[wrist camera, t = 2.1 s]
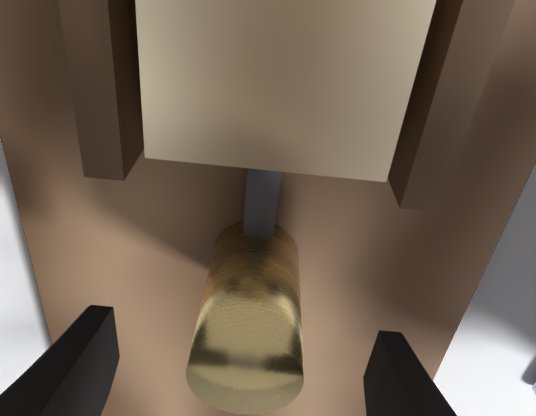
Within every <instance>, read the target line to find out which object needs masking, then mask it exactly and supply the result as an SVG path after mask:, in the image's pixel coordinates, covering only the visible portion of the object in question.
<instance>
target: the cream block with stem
mask: <svg viewBox="0 0 536 416" xmlns="http://www.w3.org/2000/svg"><path fill="white" fill-rule="evenodd" d="M435 3H436V0H135V5H136V22H137V38H138V55H139V71H140V88H141V104H142V121H143V137H144V154H145V158H150V159H160V160H170V161H180V162H190V163H200V164H210V165H220V166H230V167H240V168H248V172H247V185H246V197H245V210H244V221H242V222H238V223H235V224H233V225H231V226H229V227H228V228H226V229H225V230H224V231H222V232H221V233H220V235H219V236H218V237H217V239H216V241H215V243H214V246H213V251H212V255H211V260H210V264H209V269H208V273H207V278H206V282H205V287H204V291H203V296H202V300H201V305H200V309H199V314H198V318H197V323H196V327H195V332H194V336H193V341H192V345H191V350H190V354H189V359H188V363H187V368H186V380H187V383H188V386H189V388H190V389H191V391H192V392H193V393H194V394H195V395H196V396H197V397H198V398H199V399H200V400H202V401H203V402H205V403H206V404H208V405H210V406H212V407H214V408H217V409H219V410H222V411H226V412H230V413H236V414H262V413H268V412H272V411H275V410H278V409H280V408H282V407H284V406H286V405H288V404H289V403H291V402H292V401H293V400H294V399H295V398H296V397H297V396H298V395H299V394H300V392H301V390H302V387H303V383H304V371H303V346H302V322H301V297H300V272H299V251H298V247H297V244H296V242H295V241H294V239H293V237H292V236H291V235H290V234H289V233H288V232H287V231H286V230H284V229H283V228H281V227H280V226H278V225H276V224H275V219H276V212H277V204H278V196H279V188H280V180H281V172H290V173H300V174H310V175H319V176H329V177H339V178H349V179H359V180H369V181H379V182H386V181H387V177H388V174H389V170H390V167H391V163H392V159H393V156H394V152H395V148H396V145H397V141H398V138H399V134H400V130H401V127H402V123H403V119H404V116H405V112H406V109H407V105H408V101H409V98H410V94H411V90H412V87H413V83H414V79H415V76H416V72H417V69H418V65H419V61H420V58H421V54H422V50H423V47H424V43H425V40H426V36H427V32H428V29H429V25H430V21H431V18H432V14H433V11H434V7H435Z"/></svg>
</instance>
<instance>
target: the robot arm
mask: <svg viewBox="0 0 536 416" xmlns="http://www.w3.org/2000/svg"><path fill="white" fill-rule="evenodd" d="M119 358H120V354H119V347H118V339H117V331H116V323H115V316H114V308H113V307H110V306H99V305H90V306H88V307H87V308H86V309H85V310H84V311H83V312H82V313H81V314H80V316H79V317H78V318H77V319H76V320H75V321H74V322H73V323H72V324H71V325H70V326H69V328H68V329H67V330H66V331H65V332H64V333H63V334H62V335H61V336H60V337H59V338H58V339H57V340H56V341H55V342H54V343H53V344H52V345H51V347H50V348H49V349H48V350H47V351H46V352H45V353H44V354H43V355H42V356H41V357H40V358H39V359H38V360H37V361H36V362H35V363H34V364H33V365H32V366H31V367H30V368H29V369H28V370H27V371H25V372H24V373H23V374H22V375H21V376H20V377H19V378H18V379H17V380H16V381H15V382H14V383H13V384H12V385H10V386H9V387H8V388H7V389H6V390H5V391H4V392H3V393H2V394H1V395H0V416H101V414H102V411H103V409H104V406H105V404H106V401H107V399H108V396H109V393H110V390H111V387H112V383H113V380H114V377H115V373H116V369H117V366H118V362H119ZM363 383H364V395H365V406H366V415H367V416H457V415H456V414H455V412H454V411H453V409H452V408H451V407H450V405H449V404H448V402H447V401H446V399H445V398H444V397H443V395H442V394H441V392H440V391H439V389H438V388H437V386H436V385H435V383H434V382H433V381H432V379H431V377H430V376H429V374H428V373H427V371H426V370H425V368H424V367H423V365H422V364H421V362H420V360H419V359H418V357H417V356H416V354H415V353H414V351H413V349H412V348H411V346H410V345H409V343H408V341H407V340H406V338H405V337H404V335H403V334H402V333H401V332H394V331H383V330H379V332H378V335H377V338H376V341H375V343H374V346H373V349H372V352H371V355H370V358H369V361H368V364H367V367H366V370H365V373H364V376H363ZM532 389H533V391H534V393H535V395H536V382H535V384H534V385H533V388H532Z"/></svg>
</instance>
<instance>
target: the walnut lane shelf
mask: <svg viewBox="0 0 536 416" xmlns="http://www.w3.org/2000/svg"><path fill="white" fill-rule="evenodd" d="M0 137H1V141H2V145H3V149H4V153H5V157H6V161H7V165H8V170H9V174H10V178H11V182H12V186H13V190H14V194H15V198H16V202H17V206H18V210H19V214H20V218H21V222H22V226H23V230H24V234H25V238H26V242H27V246H28V250H29V254H30V258H31V262H32V266H33V270H34V274H35V278H36V282H37V286H38V290H39V294H40V298H41V302H42V306H43V310H44V314H45V318H46V322H47V326H48V330H49V334H50V338H51V342H52V344H53V343H54V342H55V341H56V340H57V339H58V338H59V337H60V336H61V335H62V334H63V333H64V332H65V331H66V330H67V329H68V328H69V326H70V325H71V324H72V323H73V322H74V321H75V320H76V319H77V318H78V317H79V316H80V314H81V313H82V312H83V311H84V310H85V309H86V308H87V307H88V306H90V305H99V306H110V307H113V308H114V316H115V323H116V331H117V339H118V347H119V354H120V358H119V362H118V366H117V369H116V373H115V377H114V380H113V383H112V387H111V390H110V393H109V396H108V399H107V401H106V404H105V406H104V409H103V411H102V414H101V416H367V415H366V406H365V395H364V383H363V376H364V373H365V370H366V367H367V364H368V361H369V358H370V355H371V352H372V349H373V346H374V343H375V341H376V338H377V335H378V332H379V330H383V331H394V332H401V333H402V334H403V335H404V337H405V338H406V340H407V341H408V343H409V345H410V346H411V348H412V349H413V351H414V353H415V354H416V356H417V357H418V359H419V360H420V362H421V364H422V365H423V367H424V368H425V370H426V371H427V373H428V374H429V376H430V377H431V379H432V381H433V379H434V377H435V374H436V372H437V370H438V368H439V366H440V364H441V362H442V360H443V357H444V355H445V353H446V351H447V349H448V347H449V345H450V343H451V340H452V338H453V336H454V334H455V332H456V330H457V328H458V326H459V324H460V321H461V319H462V317H463V315H464V313H465V311H466V309H467V307H468V304H469V302H470V300H471V298H472V296H473V294H474V292H475V290H476V288H477V285H478V283H479V281H480V279H481V277H482V275H483V273H484V271H485V268H486V266H487V264H488V262H489V260H490V258H491V256H492V254H493V251H494V249H495V247H496V245H497V243H498V241H499V239H500V237H501V235H502V232H503V230H504V228H505V226H506V224H507V222H508V220H509V218H510V215H511V213H512V211H513V209H514V207H515V205H516V203H517V201H518V198H519V196H520V194H521V192H522V190H523V188H524V186H525V184H526V182H527V179H528V177H529V175H530V173H531V171H532V169H533V167H534V165H535V162H536V0H436V3H435V7H434V11H433V14H432V18H431V21H430V25H429V29H428V32H427V36H426V40H425V43H424V47H423V50H422V54H421V58H420V61H419V65H418V69H417V72H416V76H415V79H414V83H413V87H412V90H411V94H410V98H409V101H408V105H407V109H406V112H405V116H404V119H403V123H402V127H401V130H400V134H399V138H398V141H397V145H396V148H395V152H394V156H393V159H392V163H391V167H390V170H389V174H388V177H387V181H386V182H379V181H369V180H359V179H349V178H339V177H329V176H319V175H310V174H300V173H290V172H281V180H280V188H279V196H278V204H277V212H276V219H275V224H276V225H278V226H280V227H281V228H283V229H284V230H286V231H287V232H288V233H289V234H290V235H291V236H292V237H293V239H294V241H295V242H296V244H297V247H298V251H299V272H300V297H301V322H302V346H303V371H304V383H303V387H302V390H301V392H300V394H299V395H298V396H297V397H296V398H295V399H294V400H293V401H292V402H291V403H289V404H288V405H286V406H284V407H282V408H280V409H278V410H275V411H272V412H268V413H262V414H236V413H230V412H226V411H222V410H219V409H217V408H214V407H212V406H210V405H208V404H206V403H205V402H203V401H202V400H200V399H199V398H198V397H197V396H196V395H195V394H194V393H193V392H192V391H191V389H190V388H189V386H188V383H187V380H186V368H187V363H188V359H189V354H190V350H191V345H192V341H193V336H194V332H195V327H196V323H197V318H198V314H199V309H200V305H201V300H202V296H203V291H204V287H205V282H206V278H207V273H208V269H209V264H210V260H211V255H212V251H213V246H214V243H215V241H216V239H217V237H218V236H219V235H220V233H221V232H222V231H224V230H225V229H226V228H228V227H229V226H231V225H233V224H235V223H238V222H242V221H244V210H245V197H246V185H247V172H248V168H240V167H230V166H220V165H210V164H200V163H190V162H180V161H170V160H160V159H150V158H145V154H144V137H143V121H142V104H141V88H140V71H139V55H138V38H137V22H136V5H135V0H0Z"/></svg>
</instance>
